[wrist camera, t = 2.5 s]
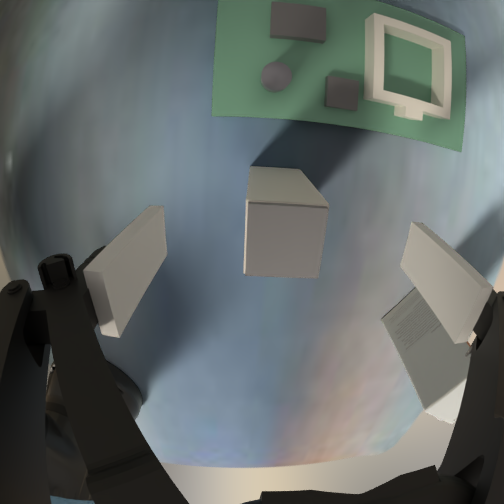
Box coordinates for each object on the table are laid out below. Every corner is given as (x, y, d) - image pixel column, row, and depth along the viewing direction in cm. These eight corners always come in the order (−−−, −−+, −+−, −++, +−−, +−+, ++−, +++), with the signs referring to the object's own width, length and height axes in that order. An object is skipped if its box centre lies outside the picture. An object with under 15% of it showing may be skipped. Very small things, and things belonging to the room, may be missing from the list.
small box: (447, 313, 29) (498, 388, 18) (411, 346, 31) (450, 426, 20) (420, 280, 27) (483, 364, 15) (378, 319, 29) (422, 413, 18)
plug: (248, 213, 24) (243, 277, 15) (250, 166, 23) (245, 201, 13) (295, 215, 24) (319, 279, 15) (299, 169, 23) (331, 206, 13)
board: (213, 116, 21) (206, 115, 18) (221, -13, 16) (216, -32, 12) (453, 150, 21) (477, 157, 18) (457, 37, 16) (479, 32, 12)
